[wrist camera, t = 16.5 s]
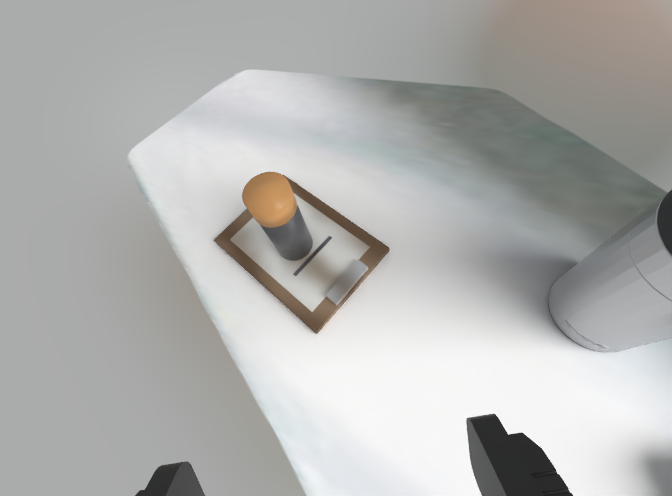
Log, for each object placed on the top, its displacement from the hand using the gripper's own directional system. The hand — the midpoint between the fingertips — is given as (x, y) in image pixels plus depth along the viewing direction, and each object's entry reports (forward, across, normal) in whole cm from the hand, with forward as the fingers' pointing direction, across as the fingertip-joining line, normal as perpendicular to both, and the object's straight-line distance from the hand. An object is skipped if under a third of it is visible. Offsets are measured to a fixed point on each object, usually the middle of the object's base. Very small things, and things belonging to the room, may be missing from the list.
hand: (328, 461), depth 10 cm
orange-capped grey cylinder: (+35, +6, +4) cm, 36 cm away
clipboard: (+36, +6, +4) cm, 37 cm away
